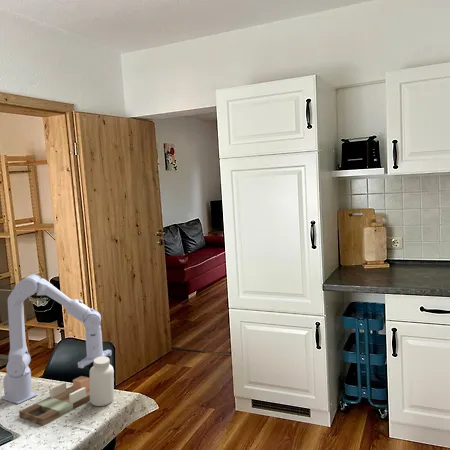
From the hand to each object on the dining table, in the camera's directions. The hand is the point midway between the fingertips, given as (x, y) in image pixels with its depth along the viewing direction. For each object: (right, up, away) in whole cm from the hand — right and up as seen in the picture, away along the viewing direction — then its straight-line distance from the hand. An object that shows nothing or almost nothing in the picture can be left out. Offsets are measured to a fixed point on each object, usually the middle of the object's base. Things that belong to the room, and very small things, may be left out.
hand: (96, 380), depth 164 cm
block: (-4, -1, -6) cm, 7 cm away
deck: (-8, -4, -14) cm, 16 cm away
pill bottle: (+5, -3, -12) cm, 13 cm away
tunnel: (-7, -2, -11) cm, 13 cm away
